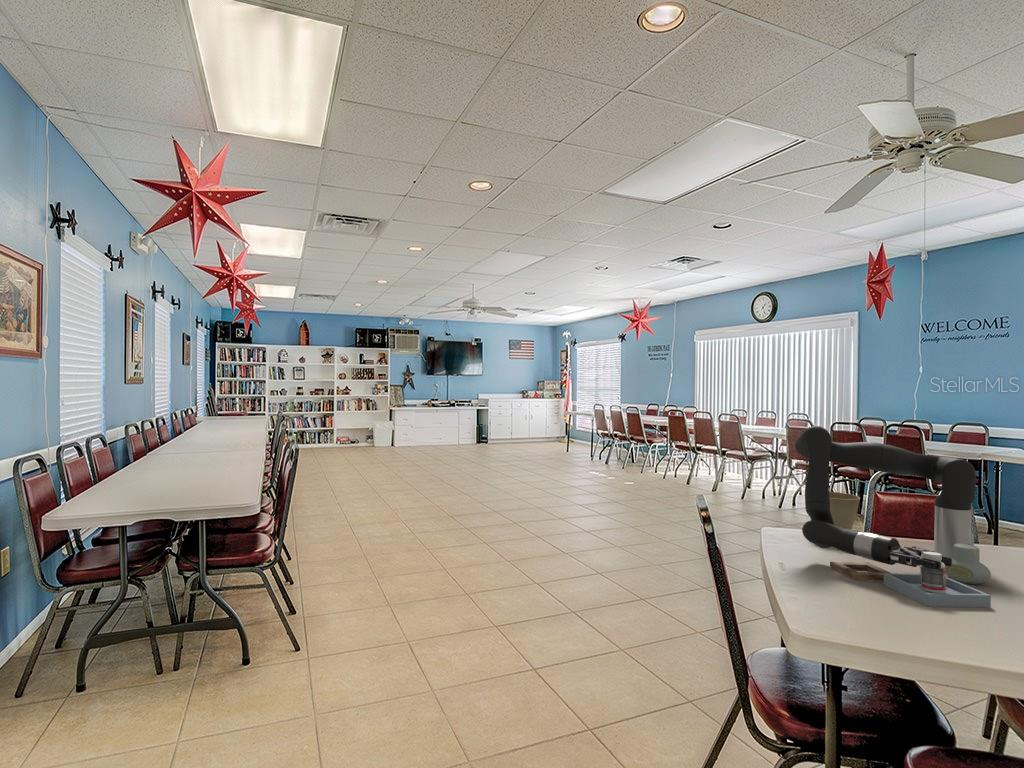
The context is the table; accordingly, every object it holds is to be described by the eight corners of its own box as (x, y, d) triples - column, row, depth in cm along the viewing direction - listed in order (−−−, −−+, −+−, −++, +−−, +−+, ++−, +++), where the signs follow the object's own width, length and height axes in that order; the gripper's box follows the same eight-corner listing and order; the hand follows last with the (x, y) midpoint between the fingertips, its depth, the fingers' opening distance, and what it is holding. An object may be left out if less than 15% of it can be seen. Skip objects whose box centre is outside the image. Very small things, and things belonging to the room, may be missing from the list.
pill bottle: (950, 594, 144) (948, 556, 144) (925, 592, 145) (924, 554, 146) (941, 588, 149) (939, 551, 149) (917, 586, 150) (916, 550, 151)
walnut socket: (868, 567, 170) (868, 562, 170) (896, 580, 158) (896, 575, 158) (829, 566, 169) (829, 561, 169) (855, 580, 157) (855, 574, 157)
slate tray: (939, 585, 155) (939, 574, 155) (990, 607, 139) (990, 595, 139) (883, 584, 155) (883, 573, 155) (928, 606, 139) (928, 594, 139)
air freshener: (995, 584, 157) (996, 549, 157) (983, 589, 153) (983, 552, 153) (949, 573, 166) (950, 539, 166) (936, 577, 162) (937, 543, 162)
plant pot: (804, 536, 205) (805, 493, 206) (823, 531, 214) (823, 490, 215) (848, 546, 194) (849, 500, 194) (866, 540, 203) (866, 496, 203)
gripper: (863, 537, 155) (934, 553, 141) (888, 531, 163) (958, 546, 149) (863, 564, 155) (933, 583, 141) (888, 557, 163) (957, 574, 149)
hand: (945, 564), depth 145 cm, fingers open, 6 cm apart
